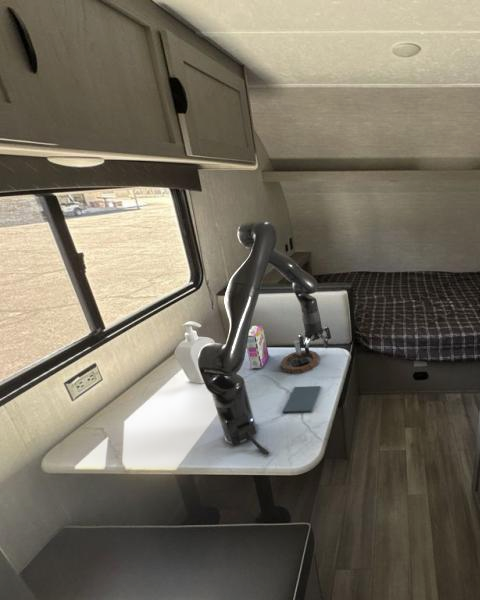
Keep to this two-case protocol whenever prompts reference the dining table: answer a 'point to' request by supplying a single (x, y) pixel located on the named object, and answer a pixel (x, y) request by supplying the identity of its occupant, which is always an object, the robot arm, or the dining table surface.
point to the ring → (302, 368)
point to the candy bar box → (257, 347)
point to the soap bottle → (191, 352)
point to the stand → (299, 356)
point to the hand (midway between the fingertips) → (317, 350)
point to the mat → (302, 399)
